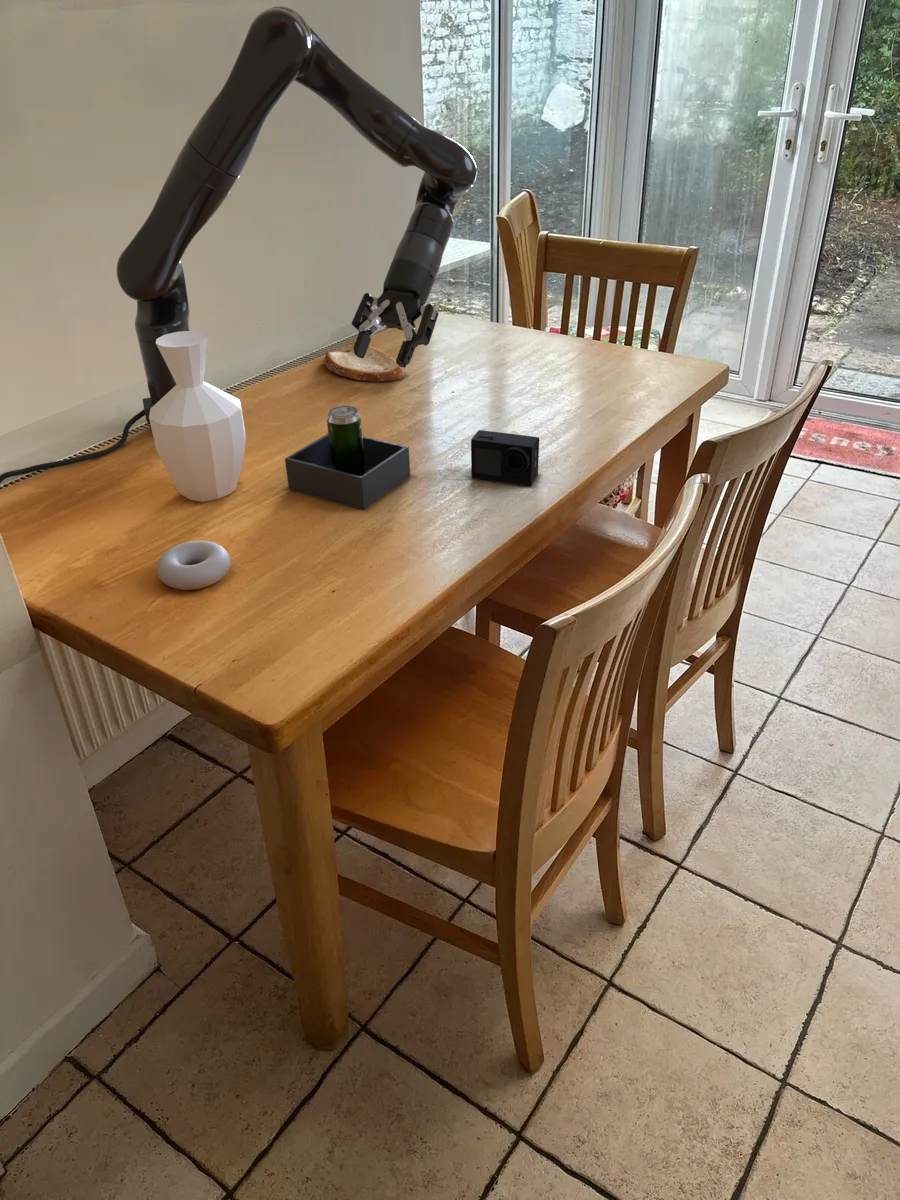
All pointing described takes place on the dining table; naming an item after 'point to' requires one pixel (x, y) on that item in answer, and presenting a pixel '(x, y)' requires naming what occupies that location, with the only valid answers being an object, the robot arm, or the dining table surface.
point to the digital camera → (504, 457)
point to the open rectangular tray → (318, 478)
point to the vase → (197, 423)
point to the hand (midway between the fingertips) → (379, 360)
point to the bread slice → (363, 365)
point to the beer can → (346, 440)
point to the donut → (193, 565)
